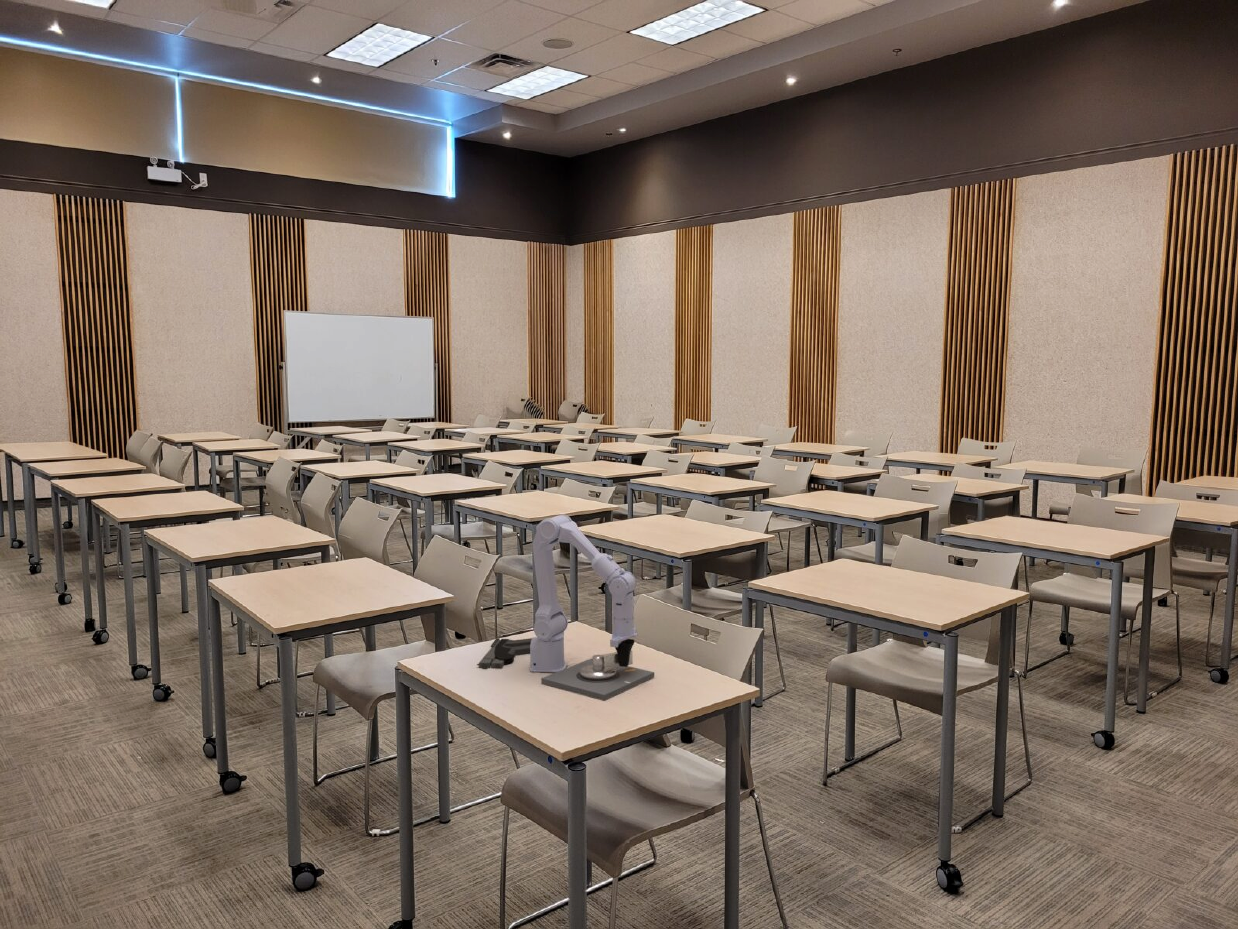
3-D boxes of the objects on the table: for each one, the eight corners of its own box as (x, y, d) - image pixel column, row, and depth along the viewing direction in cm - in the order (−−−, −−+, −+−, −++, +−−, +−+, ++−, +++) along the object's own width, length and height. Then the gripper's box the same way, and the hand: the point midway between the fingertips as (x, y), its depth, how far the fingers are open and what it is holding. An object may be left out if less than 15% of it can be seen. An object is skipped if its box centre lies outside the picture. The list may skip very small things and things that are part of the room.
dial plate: (541, 683, 239) (541, 677, 239) (592, 662, 256) (592, 657, 256) (604, 700, 226) (604, 694, 225) (654, 677, 243) (654, 672, 243)
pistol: (543, 638, 276) (497, 637, 277) (526, 663, 251) (475, 662, 252) (543, 645, 276) (497, 644, 278) (527, 671, 251) (475, 670, 252)
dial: (590, 682, 234) (590, 664, 234) (573, 672, 243) (573, 654, 242) (640, 672, 242) (640, 655, 241) (622, 662, 250) (622, 645, 250)
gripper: (627, 625, 232) (627, 675, 234) (646, 612, 246) (646, 659, 247) (602, 623, 235) (603, 672, 236) (622, 610, 248) (623, 657, 250)
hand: (624, 665), depth 242 cm, fingers closed, pressing on dial
